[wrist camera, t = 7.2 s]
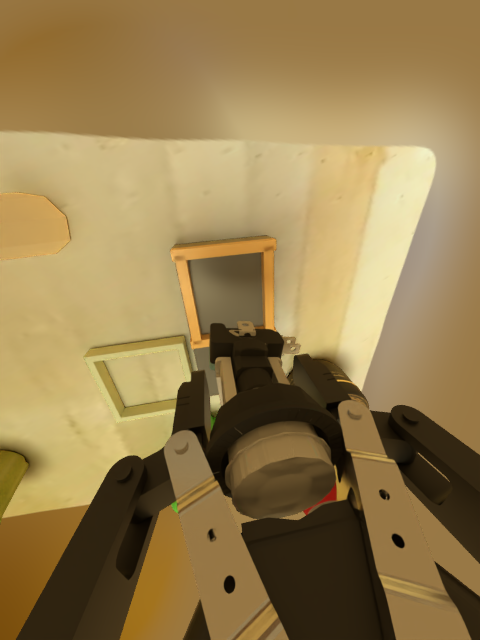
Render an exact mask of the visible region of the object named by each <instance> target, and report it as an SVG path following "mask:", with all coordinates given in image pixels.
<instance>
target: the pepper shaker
mask: <svg viewBox="0 0 480 640" xmlns="http://www.w3.org/2000/svg"><path fill="white" fill-rule="evenodd" d="M69 241H70V235H69V229H68V224H67V218H66V216H65V215H64V214H63V213H61V212H60V211H59V210H58V209H57V208H56V207H55V206H54V205H53V204H52V203H51V202H50V201H49V200H48V199H47V198H45V197H44V196H38V195H31V194H25V193H18V192H14V193H0V260H8V259H16V258H24V257H32V256H40V255H48V254H56V253H58V252H59V251H60V250H61V249H62V248H63V247H64V246H65V245H66V244H67V243H68V242H69Z"/></svg>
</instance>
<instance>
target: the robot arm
mask: <svg viewBox="0 0 480 640" xmlns="http://www.w3.org/2000/svg"><path fill="white" fill-rule="evenodd" d="M293 381H294V384H295V386H299V387H301V388H302V389H303V390H304V391H305V392H306V393H307V394H308V395H310V396H311V397H312V398H313V399H314V400H315V401H316V402H317V403H318V404H319V405H320V406H321V407H323V408H325V409H326V410H328V411H329V412H330V413H331V414H332V415H333V416H334V417H335V419H336V420H337V422H338V423H339V425H340V427H341V428H342V430H343V431H342V435H341V443H342V449H343V452H342V454H341V456H340V458H339V460H338V462H337V463H335V466H334V468H335V470H336V471H335V475H336V486H337V502H332V503H328V504H324V505H321V506H320V507H318V508H317V509H315V510H314V511H312V512H311V513H309V514H308V515H306V516H305V517H303V518H302V519H300V520H289V519H279V518H270V517H268V518H263V519H259V520H255V521H251V522H246V523H242V524H241V525H242V533H240V531H239V529H238V526H237V524H236V522H235V520H234V517H233V515H232V513H231V510H230V508H229V506H228V504H227V502H226V499H225V497H224V494H223V492H222V490H221V488H220V485H219V483H218V481H217V480H216V479H215V478H214V476H213V473H212V471H211V469H210V466H209V464H208V462H207V459H206V457H205V455H204V454H205V450H206V447H207V444H208V442H209V441H210V433H211V413H210V394H209V388H208V383H207V378H206V373H205V370H199V371H193V372H191V381H190V382H184V383H182V385H181V386H180V388H179V390H178V394H177V402H176V409H175V416H174V423H173V431H172V435H171V437H170V438H169V439H168V441H167V442H166V444H165V446H164V447H163V448H162V449H161V450H159V451H158V452H156V453H154V454H152V455H150V456H148V457H146V458H144V459H141V458H140V457H138V456H134V455H133V456H127V457H125V458H123V459H121V460H119V461H118V462H117V463H115V464H114V465H113V466H112V468H111V469H110V470H109V472H108V473H107V475H106V477H105V479H104V480H103V482H102V484H101V486H100V488H99V490H98V491H97V493H96V495H95V497H94V499H93V500H92V502H91V504H90V506H89V508H88V510H87V511H86V513H85V515H84V517H83V519H82V521H81V522H80V524H79V526H78V528H77V529H76V531H75V533H74V535H73V537H72V539H71V540H70V542H69V544H68V546H67V548H66V549H65V551H64V553H63V555H62V557H61V559H60V561H59V562H58V564H57V566H56V568H55V570H54V571H53V573H52V575H51V577H50V579H49V580H48V582H47V584H46V586H45V588H44V590H43V591H42V593H41V595H40V597H39V599H38V600H37V602H36V604H35V606H34V608H33V610H32V611H31V613H30V615H29V617H28V619H27V620H26V622H25V624H24V626H23V628H22V629H21V631H20V633H19V635H18V637H17V638H16V640H119V639H120V636H121V633H122V630H123V626H124V623H125V620H126V617H127V614H128V611H129V607H130V604H131V601H132V598H133V595H134V591H135V588H136V585H137V582H138V579H139V575H140V572H141V569H142V566H143V562H144V559H145V556H146V553H147V550H148V547H149V543H150V540H151V537H152V533H153V530H154V527H155V524H156V521H157V518H158V515H159V511H161V510H162V509H164V508H166V507H167V506H169V505H171V504H172V503H174V502H175V501H177V510H178V514H179V518H180V522H181V526H182V530H183V533H184V537H185V541H186V545H187V549H188V552H189V557H190V561H191V564H192V568H193V572H194V576H195V580H196V584H197V588H198V591H199V595H200V600H199V602H198V605H197V607H196V610H195V612H194V614H193V617H192V619H191V621H190V624H189V626H188V629H187V631H186V634H185V636H184V638H183V640H480V596H478V595H477V594H476V593H474V592H473V591H472V590H471V589H469V588H468V587H467V586H466V585H464V584H463V583H462V582H460V581H459V580H458V579H457V578H455V577H454V576H453V575H452V574H450V573H449V572H448V571H446V570H445V569H444V568H443V567H441V566H440V565H439V564H438V563H436V562H435V561H434V560H433V557H432V554H431V552H430V549H429V547H428V544H427V541H426V539H425V536H424V534H423V531H422V528H421V526H420V523H419V520H418V518H417V515H416V513H415V510H414V507H413V505H412V502H411V499H410V497H409V494H408V492H407V489H406V486H407V487H408V488H409V490H410V491H412V493H413V494H414V495H415V496H416V497H417V498H418V499H419V500H420V501H421V502H422V503H423V504H424V505H425V506H426V507H427V508H428V510H429V511H430V512H431V513H432V514H433V515H434V516H435V517H436V518H437V519H438V520H439V521H440V522H441V523H442V524H443V525H444V526H445V528H446V529H447V530H448V531H449V532H450V533H451V534H452V535H453V536H454V537H455V538H456V539H457V540H458V541H459V542H460V543H461V544H462V545H463V547H464V548H465V549H466V550H467V551H468V552H469V553H470V554H471V555H472V556H473V557H474V558H475V559H476V560H477V561H478V562H479V563H480V455H479V454H477V453H476V452H475V451H473V450H472V449H471V448H469V447H468V446H466V445H465V444H464V443H462V442H461V441H460V440H458V439H457V438H456V437H454V436H453V435H451V434H450V433H449V432H447V431H446V430H445V429H443V428H442V427H440V426H439V425H438V424H436V423H435V422H434V421H432V420H431V419H429V418H428V417H427V416H425V415H424V414H423V413H421V412H420V411H418V410H416V409H414V408H412V407H409V406H405V405H397V406H395V407H393V408H392V410H391V413H387V412H377V411H371V410H369V409H368V408H367V407H366V406H364V405H363V404H361V403H359V402H357V401H353V400H352V399H351V398H350V396H349V395H348V394H347V392H346V391H345V390H344V389H343V387H342V386H341V385H340V383H339V382H338V381H337V380H336V379H335V377H334V376H333V375H332V374H331V372H330V371H329V369H328V368H327V367H326V366H325V365H324V364H322V363H321V362H319V361H313V360H312V359H311V357H310V356H309V355H308V354H301V355H295V356H294V363H293ZM418 452H419V453H420V454H421V455H422V456H424V458H425V459H427V460H428V461H429V462H430V463H431V464H432V465H433V466H434V467H436V468H437V469H438V470H439V471H440V472H441V473H442V474H444V475H445V476H446V477H447V478H448V480H449V481H450V482H449V481H448V480H447V479H446V478H445V477H443V476H442V475H441V474H440V473H439V472H438V471H437V470H436V469H434V468H433V467H432V466H431V465H430V464H429V463H428V462H427V461H425V460H424V459H423V458H422V457H421V456H420V455H419V454H418ZM405 485H406V486H405Z"/></svg>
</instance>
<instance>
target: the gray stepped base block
mask: <svg viewBox="0 0 480 640" xmlns="http://www.w3.org/2000/svg"><path fill="white" fill-rule="evenodd" d="M275 250H276V239H274V238H271V237H269V236H267V235H265V236H255V237H246V238H236V239H226V240H216V241H206V242H196V243H187V244H177V245H174V246H173V248H172V249H171V250H170V252H171V257H172V261H173V262H174V261H175V266H176V270H177V275H178V280H179V284H180V289H181V293H182V298H183V303H184V307H185V312H186V317H187V321H188V326H189V331H190V335H191V339H190V343H191V348H192V349H194V354H195V358H196V363H197V368H198V371H199V370H205V373H206V378H207V383H208V388H209V394H210V396H213V395H219V397H220V403H221V406H223V397H222V387H221V377H220V373H217V372H216V371H215V370H211V369H210V366H209V341H210V325H211V324H212V323H222V324H224V325H225V327H226V328H238V325H237V322H238V321H250V322H252V323H253V326H254V328H255V329H272V330H274V331H276V328H275V327H274V251H275ZM242 325H243V326H249V325H247V324H242Z"/></svg>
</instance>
